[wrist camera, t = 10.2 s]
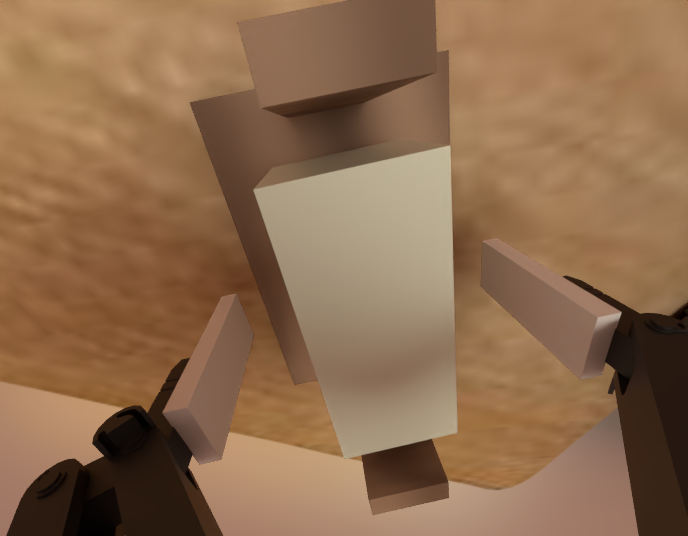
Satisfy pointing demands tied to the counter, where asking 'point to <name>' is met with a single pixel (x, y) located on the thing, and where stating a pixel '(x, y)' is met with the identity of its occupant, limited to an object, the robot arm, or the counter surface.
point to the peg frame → (325, 139)
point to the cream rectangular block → (372, 286)
